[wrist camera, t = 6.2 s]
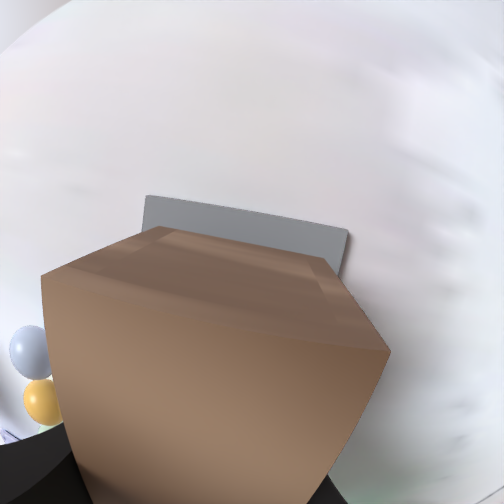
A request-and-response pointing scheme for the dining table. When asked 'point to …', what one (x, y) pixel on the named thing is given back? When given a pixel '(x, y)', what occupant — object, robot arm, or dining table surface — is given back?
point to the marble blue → (30, 353)
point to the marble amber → (42, 402)
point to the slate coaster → (247, 227)
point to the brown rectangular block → (206, 369)
